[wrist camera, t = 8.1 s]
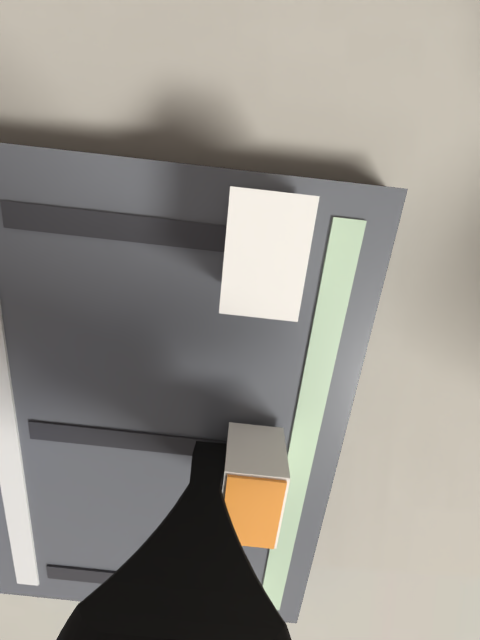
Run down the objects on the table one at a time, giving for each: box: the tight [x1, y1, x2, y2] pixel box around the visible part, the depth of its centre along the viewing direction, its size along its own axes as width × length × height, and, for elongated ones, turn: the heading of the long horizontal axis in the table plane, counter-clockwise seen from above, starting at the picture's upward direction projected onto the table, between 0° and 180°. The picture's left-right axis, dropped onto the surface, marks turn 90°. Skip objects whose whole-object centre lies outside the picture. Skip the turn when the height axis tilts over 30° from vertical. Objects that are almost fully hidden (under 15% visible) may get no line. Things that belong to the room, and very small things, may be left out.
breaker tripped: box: [222, 422, 290, 549], centre depth 12 cm, size 2×3×2 cm, turn 174°
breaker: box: [219, 186, 320, 322], centre depth 9 cm, size 2×3×2 cm, turn 174°
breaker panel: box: [0, 143, 408, 623], centre depth 14 cm, size 15×20×2 cm
